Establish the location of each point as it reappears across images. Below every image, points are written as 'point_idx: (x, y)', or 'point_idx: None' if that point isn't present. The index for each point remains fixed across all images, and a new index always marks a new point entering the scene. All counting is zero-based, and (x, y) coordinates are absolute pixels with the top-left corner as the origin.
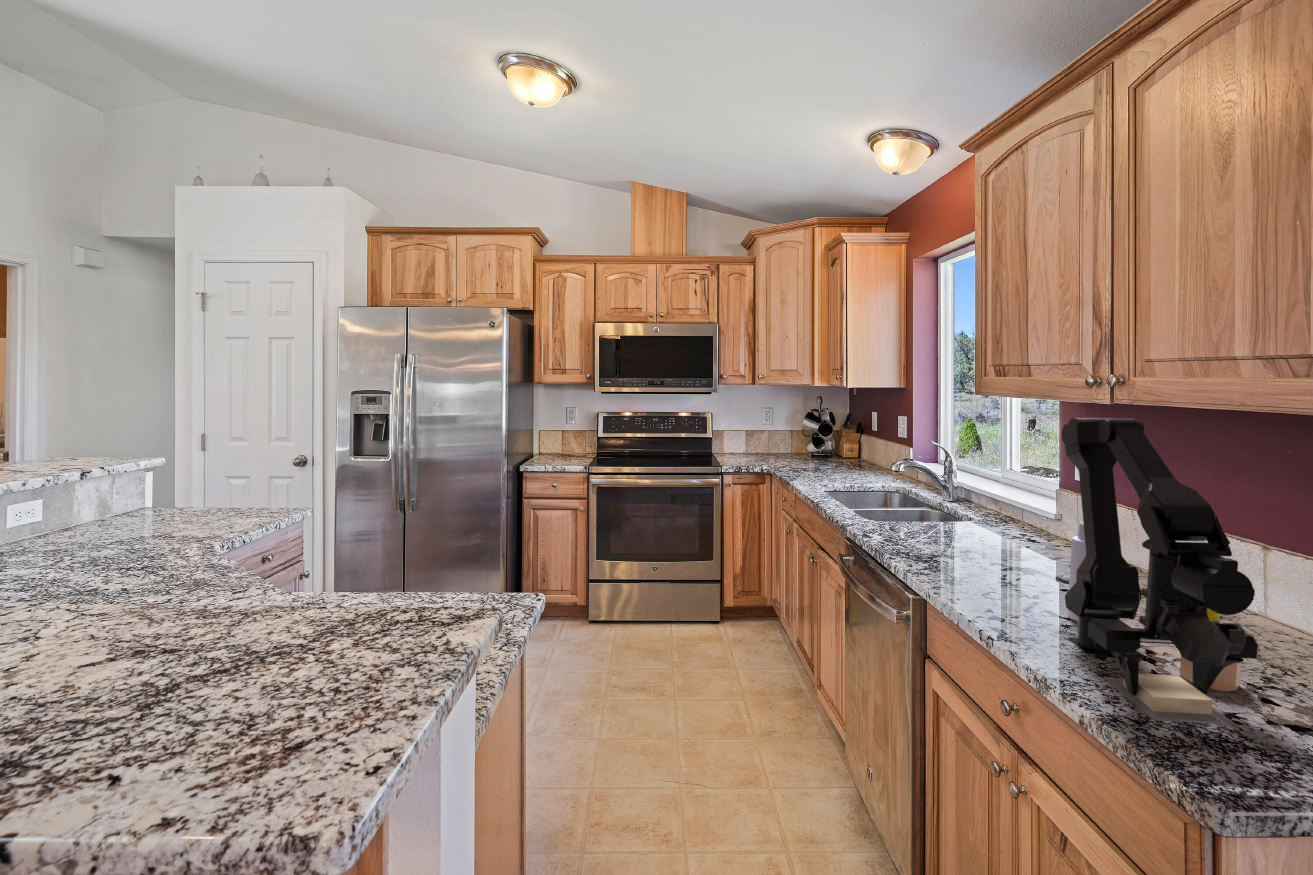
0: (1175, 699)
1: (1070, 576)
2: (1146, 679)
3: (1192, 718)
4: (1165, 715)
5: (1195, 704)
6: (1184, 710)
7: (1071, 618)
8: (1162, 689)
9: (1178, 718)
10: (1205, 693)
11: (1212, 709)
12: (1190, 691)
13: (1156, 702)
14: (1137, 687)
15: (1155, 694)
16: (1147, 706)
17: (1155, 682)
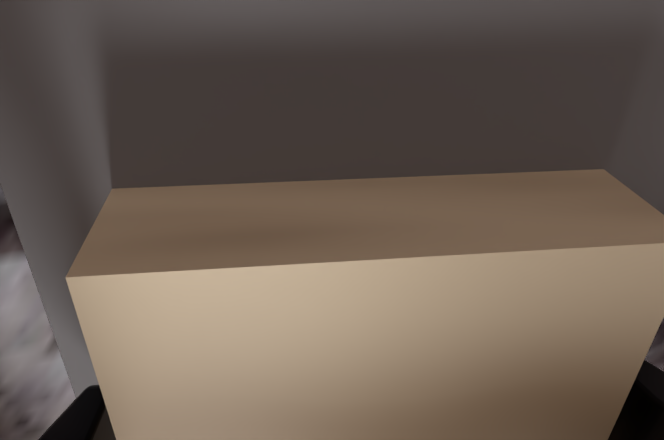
0: (482, 241)
1: None
2: None
3: (350, 78)
4: (564, 101)
5: (267, 227)
6: (358, 188)
7: None
8: (473, 394)
9: (490, 56)
10: (58, 425)
11: (64, 274)
12: (218, 409)
13: (633, 208)
14: (649, 392)
15: (626, 295)
16: None
17: None
